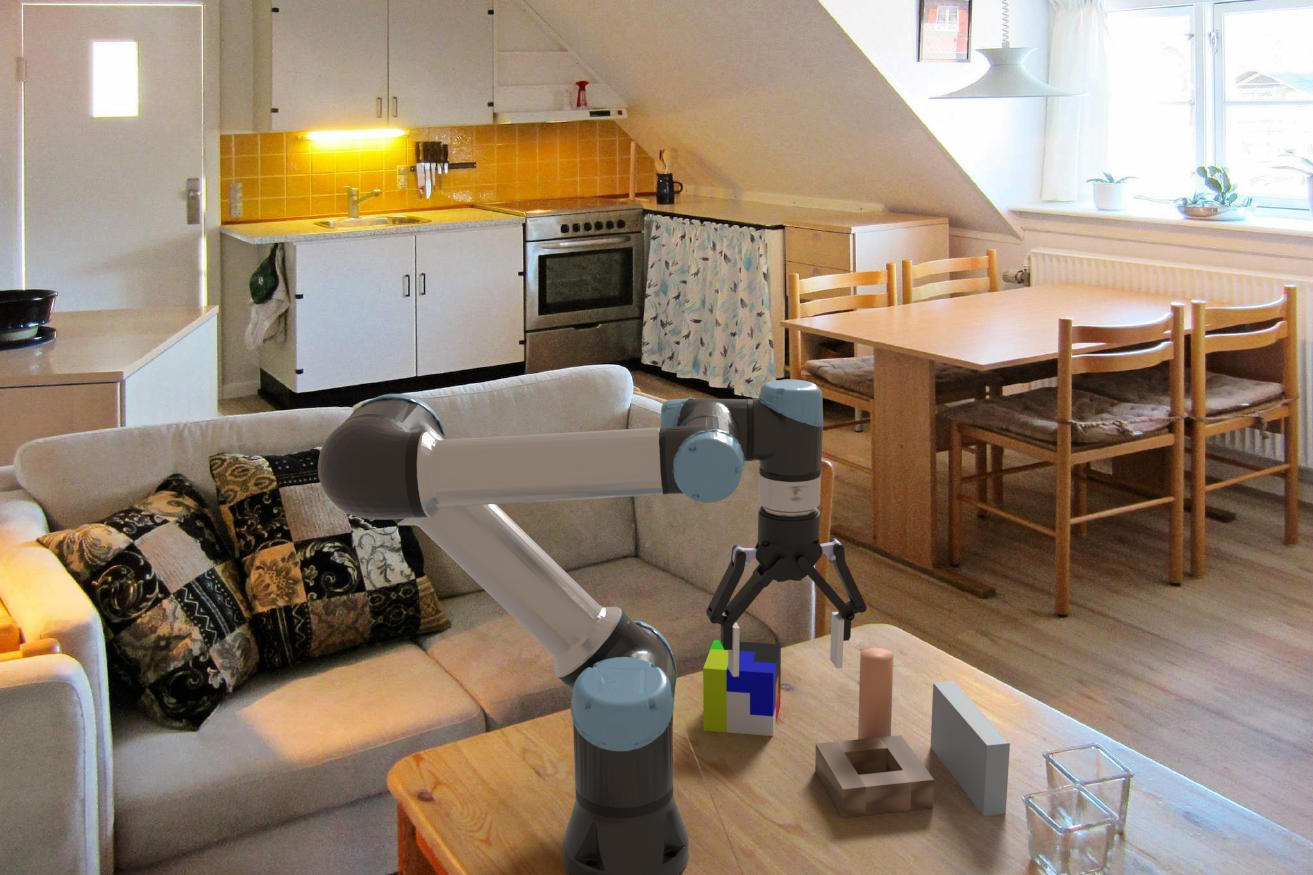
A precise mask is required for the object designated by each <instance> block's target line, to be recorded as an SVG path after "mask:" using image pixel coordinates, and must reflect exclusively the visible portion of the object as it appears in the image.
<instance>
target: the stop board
mask: <svg viewBox="0 0 1313 875" xmlns="http://www.w3.org/2000/svg"><path fill="white" fill-rule="evenodd" d="M932 684H933V685H932V702H931V703H932V705H931V723H930V724H931V726H930V728H931V729H930V746H929V747H930V749H931V750H932V751H933V753H934V754H935V756H936V757H937V758H938V760H939V761H940V763H941V764H943V766H944V767H945V769H946V770H947V771H948V773H949V774H950V775H951V776H952V777H953V779H954V780H955V781H956V783H957V784H958V785H959V786H960V788H961V789H962V790H963V792H964V793H965V794H966V796H967V797H968V798H969V799H970V801H971V802H972V803H973V805H974V806H975V807H976V809H977V810H978V811H979V813H980V814H981V816H983V817H988V816H996V815H1005V814H1006V813H1007V799H1008V782H1009V767H1010V766H1009V765H1010V749H1011V748H1010V747H1011V743H1010V741H1009V740H1008V739H1007V738H1006V737H1005V736H1004V735H1003V734H1002V733H1001V731H1000V730H999V729H998V728H997V727H996V726H995V725H994V724H993V722H992V721H991V720H990V719H989V718H988V717H987V716H986V715H985V714H984V712H982V710H981V709H980V708H979V707H978V706H977V705H976V704H975V703H974V701H973V700H972V699H971V698H970V697H969V696H968V695H967V694H966V692H965V691H964V690H963V689H962V688H961V687H960V686H959V684H957V683H956V681H955V680H949V681H948V680H947V681H938V682H933V683H932Z"/></svg>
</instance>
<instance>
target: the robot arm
mask: <svg viewBox="0 0 1313 875" xmlns="http://www.w3.org/2000/svg"><path fill="white" fill-rule="evenodd" d="M759 392H760V393H759V395H758V397H757V398H756V397H755V398H751V399H750V398H746V399H744V398H742V399H741V398H740V399H738V398H694V397H691V396H690V397H689V396H688V397H686V398H676V399H674V398H673V399H667V400H665V401H664V402H663V403H662V405H661V408H660V427H658V426H657V427H643V428H641V427H640V428H629V429H628V428H627V429H626V428H624V429H623V428H622V429H611V430H610V429H608V430H590V431H588V430H586V431H572V432H570V431H569V432H557V433H556V432H555V433H554V432H553V433H536V434H519V435H517V434H516V435H503V436H501V435H500V436H487V437H486V436H485V437H484V436H483V437H466V438H450V439H449V438H446V433H445V430H444V426H443V424H442V421H441V419H440V417H439V416H438V413H436V411H435V410H434V409H433V408H432V407H430V406H429V405H428V404H427V403H425V402H424V400H423V401H422V400H421V399H419V398H417V397H414V396H412V395H409V394H403V393H388V394H382V395H379V396H377V397H374V398H372V399H370V400H368V401H366V402H364V403H362V404H361V405H360V406H359V407H357V408H355V409H354V410H353V412H352V413H351V414H350V415H349V416H348V417H347V418H346V419H345V420H344V421H343V422H342V423H341V424H340V425H338V426H337V427H336V428H335V429H334V430H333V431H332V432H331V433H330V434H329V435H328V436H327V437H326V440H325V441H324V443H323V445H322V447H321V449H320V451H319V452H320V453H319V457H318V459H317V460H318V462H317V472H318V473H317V474H318V479H319V482H320V485H321V488H322V490H323V492H324V493H325V495H326V496H327V498H328V499H329V500H330V502H331V503H333V505H335V506H336V507H337V508H338V509H340V510H341V511H343V512H345V513H346V514H348V515H351V516H354V517H356V518H361V519H365V520H366V519H367V520H378V521H379V520H393V521H394V522H395V524H397V525H398V526H417V527H418V528H420V530H422V531H423V532H424V533H425V534H426V535H427V536H428V537H429V538H430V539H431V540H432V541H433V542H434V543H435V544H436V545H437V546H438V547H439V548H441V549H442V551H444V552H445V553H446V554H447V555H448V556H449V557H450V558H451V559H452V560H453V561H454V562H455V563H456V565H458V566H459V567H460V568H461V569H462V570H463V571H464V572H466V573H467V575H469V576H470V577H471V578H472V579H473V580H474V582H476V583H477V584H478V585H479V586H480V587H481V588H482V589H483V590H484V591H485V592H486V593H488V595H490V596H491V597H492V599H494V600H495V601H496V602H497V603H498V604H499V606H501V607H502V608H503V610H505V611H506V612H507V613H508V614H509V615H510V616H511V617H513V618H514V619H515V620H516V621H517V623H519V624H520V626H521V627H523V628H524V629H525V630H526V631H527V632H528V633H529V634H530V635H531V636H532V637H533V638H535V640H536V641H538V642H539V643H540V645H542V646H543V647H544V648H545V649H546V650H547V651H548V652H549V653H550V654H551V655H552V656H553V659H554V674H555V676H556V677H557V678H559V680H560V681H561V682H563V683H564V685H566V686H567V687H568V689H570V690H571V691H572V696H571V702H570V715H571V718H572V723H573V724H572V725H573V726H572V727H573V730H572V731H573V758H574V759H573V760H574V761H573V762H574V787H575V801H574V804H573V807H572V811H571V812H570V817H569V820H568V823H567V826H566V829H565V833H564V836H563V839H562V840H563V841H562V858H563V866H564V868H565V870H566V871H567V873H568V874H569V875H680V874H682V872H683V871H684V870H685V868H686V867H687V865H688V862H689V856H690V855H689V854H690V852H689V851H690V850H689V835H688V833H687V829H686V827H685V824H684V821H683V819H682V816H681V813H680V811H679V808H678V806H677V803H676V800H675V797H674V752H673V751H674V746H673V744H674V742H673V736H674V735H673V734H674V732H673V731H674V730H673V729H674V708H675V691H676V685H677V675H678V674H677V665H676V661H675V657H674V653H673V650H672V648H671V646H670V643H669V642H668V640H667V639H666V638H665V636H664V635H663V634H662V633H661V632H660V631H659V630H658V629H656V628H655V627H654V626H652V625H650V624H649V623H647V622H644V621H640V620H633V619H631V617H630V616H629V615H627V614H626V613H625V611H623V609H621V608H620V607H618V606H601V605H600V604H599V603H598V602H597V601H596V600H595V599H594V598H593V597H591V595H590V594H588V592H587V591H585V589H583V588H582V587H581V585H580V584H579V583H577V582H576V581H575V580H574V579H573V578H572V577H571V576H570V575H569V573H567V571H565V570H564V569H563V568H562V567H561V566H560V565H559V564H558V563H557V562H556V561H555V560H554V559H553V558H552V557H551V556H550V555H549V554H548V553H546V551H545V550H544V549H543V548H541V547H540V546H539V544H537V543H536V542H535V540H533V538H532V537H530V536H529V535H528V534H527V533H526V532H525V531H524V530H523V529H522V528H521V527H520V526H519V525H518V524H517V523H516V522H515V521H514V519H512V518H511V517H510V516H509V515H508V514H507V513H506V512H504V510H502V509H501V507H499V505H506V504H520V503H522V504H524V503H536V502H537V503H539V502H558V501H559V502H560V501H574V500H576V501H579V500H593V499H610V498H624V497H625V498H627V497H644V496H663V495H664V496H665V495H684V496H686V497H688V498H689V499H691V500H693V501H695V502H698V503H699V502H700V503H704V504H711V503H717V502H720V501H723V500H725V499H726V498H729V496H731V495H732V494H733V493H734V492H735V490H736V489H737V488H738V487H739V484H740V483H741V481H742V480H741V479H742V476H743V470H744V469H743V468H744V466H745V462H755V461H756V462H758V463H759V468H758V498H757V499H758V500H757V502H758V504H759V505H760V507H759V509H758V512H757V542H756V545H755V546H754V547H742V546H741V545H740V544H735V545H733V546H732V548H731V556H730V562H729V564H728V566H727V568H726V570H725V571H724V574H723V576H722V578H721V580H720V582H719V584H718V586H717V588H716V590H715V592H714V594H713V595H712V598H711V600H710V602H709V605H708V606H707V609H706V610H705V613H706V614H705V615H706V616H707V618H708V619H709V621H710V623H711V624H714V625H716V624H718V625H720V640H721V644H722V646H723V648H724V650H728V668H729V670H730V672H731V674H732V676H733V677H737V676H739V642H740V636H741V635H740V629H741V628H740V626H739V624H738V622H737V621H738V620H739V619H740V617H742V615H743V614H744V612H746V611H747V609H748V608H749V607H750V606H751V604H752V603H753V602H754V601H755V600H756V598H757V597H758V596H759V595H760V593H761V592H762V591H763V590H764V589H765V588H767V587H768V586H769V585H770V584H771V583H772V582H773V581H775V582H777V583H784V582H787V581H794V582H798V581H799V582H801V581H802V580H803V579H805V578H806V577H809V579H811V581H812V582H813V583H814V584H815V585H816V587H817V588H818V589H819V590H820V591H821V592H822V594H824V595H825V597H826V598H827V599H828V600H829V601H830V602H831V604H833V606H834V607H835V608H836V609H837V610H838V611H831V623H830V624H831V626H830V632H831V633H830V651H829V652H830V654H829V656H830V658H829V660H830V661H831V663H832V664H833V666H834V667H835V668H836V669H843V657H844V641H845V642H847V641H850V640H851V639H850V638H851V636H852V634H851V633H852V621H854V619H855V617H856V616H855V615H856V614H857V613H858V614H859V613H861V614H863V613H865V612H866V611H867V604H866V602H865V601H864V598H863V596H862V595H861V591H860V589H859V588H858V585H857V584H856V582H855V580H854V577H853V575H852V573H851V570H850V569H849V566H848V564H847V562H846V556H845V554H846V553H845V547H844V545H843V544H842V543H841V542H840V541H839V540H838V539H837V538H831V539H830V540H829V542H824V543H821V542H820V526H821V524H820V522H821V521H820V520H821V519H820V518H821V511H820V510H819V509H818V507H819V506H820V505H821V481H822V475H821V474H822V460H823V458H822V457H823V455H822V453H823V439H824V438H823V435H824V433H823V432H824V409H823V408H824V407H823V405H824V404H823V403H824V401H823V392H822V390H821V389H820V387H819V386H818V385H817V384H815V383H814V382H810V381H806V380H802V379H793V378H792V379H789V378H786V379H779V380H775V379H774V380H773V379H772V380H769V381H766V382H765V383H763V384H762V385H761V388H760V391H759ZM823 555H825V557H826V558H827V559H828V560H829V561H831V563H832V565H833V567H834V569H835V571H836V573H837V575H838V577H839V579H840V582H841V583H842V585H843V589H844V590H845V592H846V594H847V596H848V598H849V601H846V602H845V601H844V600H843V599H842V598H841V596H840V595H839V594H838V593H837V592H836V591H835V589H834V588H833V587H832V586H831V585H830V584H829V582H827V580H826V579H825V578H824V577H823V576H822V575H821V573H820V572H819V571H818V570H817V569H816V567H815V565H816V564H817V563H818V561H819V560H821V559H820V558H821V557H822V556H823ZM753 559H756V561H757V563H758V565H757V566H756V567H755V568H754V570H753V572H752V575H751V576H750V577H749V579H748V580H747V581H746V582H745V584H744V585H743V586H742V587H741V588H740V589H739V591H738V592H737V593H736V594H735V596H734V597H732V596H733V594H734V592H735V590H736V588H737V587H738V584H739V582H740V580H741V579H742V576H743V573H744V572H745V568H746V567H747V566H749V565H750V563H751V561H752V560H753Z"/></svg>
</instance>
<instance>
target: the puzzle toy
mask: <svg viewBox="0 0 1313 875" xmlns="http://www.w3.org/2000/svg"><path fill="white" fill-rule="evenodd" d="M781 656H782V645H781V644H779V643H766V642H750V641H749V642H748V641H739V676H737V677H733V676H732V674H731V672H730V670H729V668H728V650H724V648H723V646H722V644H721V639H720V640H718V639H713V642H712V645H711V646H710V649H709V652H708V654H707V658H706V660H705V663H704V666H703V667H702V684H703V686H702V687H703V689H702V692H703V693H702V694H703V695H702V696H703V698H702V699H703V701H702V702H703V732H705V731H706V732H717V733H731V734H742V735H755V736H767V737H773V736H774V733H775V730H776V724H777V721H778V718H779V714H780V709H781V693H782V691H781V690H782V688H781V684H782V683H781V681H782V680H781V679H782V678H781V675H782V670H781V669H782V657H781Z"/></svg>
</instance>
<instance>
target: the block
mask: <svg viewBox="0 0 1313 875" xmlns="http://www.w3.org/2000/svg"><path fill="white" fill-rule="evenodd" d="M814 764H815V768H814V770H815V772H816V775H817V776H818V778H819V780H820V782H821V783H822V784H823V787H824V788H825V790H826V792H827V793H828V795H829V798H830V799H831V800H832V802H833V804H834V806H835V807H836V809H837V811H838V812H839V814H840V817H841V818H843V819H844V818H852V817H861V816H862V817H863V816H869V815H871V816H872V815H881V814H889V813H897V812H898V813H899V812H905V811H906V812H907V811H916V810H917V811H918V810H924V809H933V808H934V792H935V779H934V778H933V776H932V775H931V773H930V772H929V770H927V768H926V766H925V765H924V764H923V762H922V761H921V759H919V757H918V755H917V754H916V753H915V752H914V750H913V749H912V748H911V746H910V745H909V744H908V742H907V740H906V739H905V738H904V737H903V736H902V735H901V734H900V735H891V736H888V737H877V738H867V739H858V738H857V739H850V740H848V739H847V740H841V741H840V740H838V741H828V742H819V743H815V762H814Z"/></svg>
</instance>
